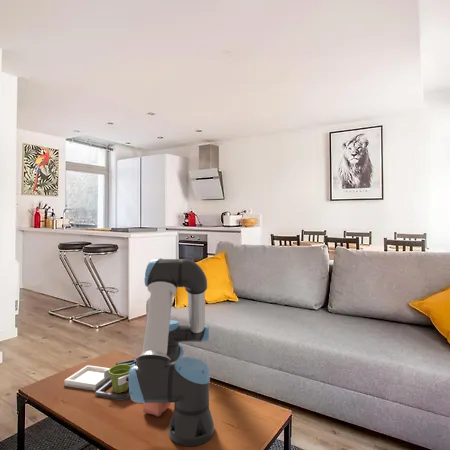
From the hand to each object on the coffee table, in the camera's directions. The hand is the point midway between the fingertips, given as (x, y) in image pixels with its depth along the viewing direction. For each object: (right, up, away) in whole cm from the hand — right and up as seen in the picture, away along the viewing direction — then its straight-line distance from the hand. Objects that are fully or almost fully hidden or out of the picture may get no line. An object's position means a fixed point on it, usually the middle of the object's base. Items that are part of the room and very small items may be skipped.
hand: (111, 377), depth 134 cm
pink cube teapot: (+21, -7, -11) cm, 25 cm away
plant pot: (+3, -7, +3) cm, 8 cm away
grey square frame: (+3, -7, +3) cm, 8 cm away
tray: (-13, -6, +11) cm, 18 cm away
